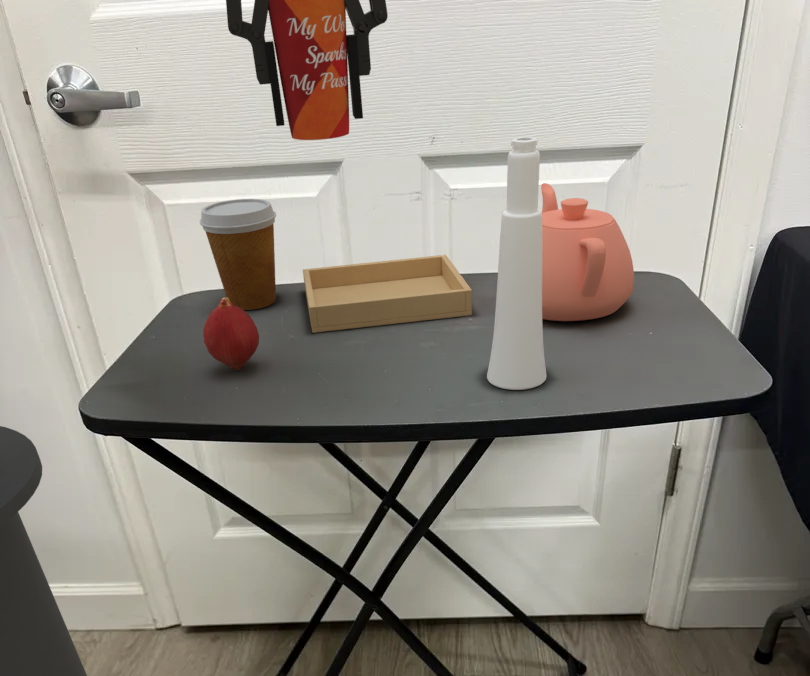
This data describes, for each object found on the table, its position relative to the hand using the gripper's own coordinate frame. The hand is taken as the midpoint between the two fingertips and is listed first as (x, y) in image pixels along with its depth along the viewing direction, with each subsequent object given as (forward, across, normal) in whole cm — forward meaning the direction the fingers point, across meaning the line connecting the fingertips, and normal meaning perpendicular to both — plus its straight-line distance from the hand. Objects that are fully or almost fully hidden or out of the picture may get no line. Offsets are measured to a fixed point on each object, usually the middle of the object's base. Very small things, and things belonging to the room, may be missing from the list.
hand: (319, 119), depth 73 cm
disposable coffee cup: (+23, +11, -21) cm, 33 cm away
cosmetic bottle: (+24, -17, +11) cm, 31 cm away
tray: (+23, -6, -16) cm, 29 cm away
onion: (+23, +12, +1) cm, 26 cm away
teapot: (+24, -28, -8) cm, 38 cm away
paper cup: (+1, 0, 0) cm, 1 cm away
